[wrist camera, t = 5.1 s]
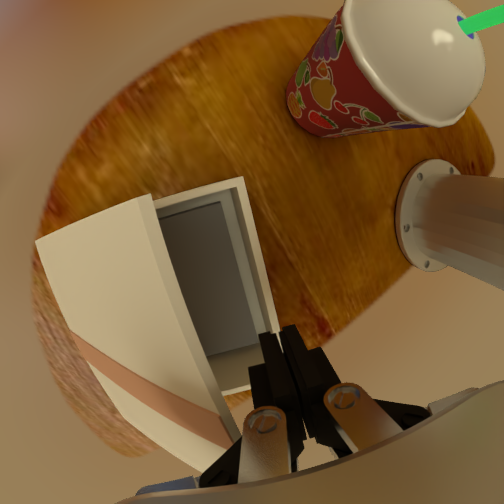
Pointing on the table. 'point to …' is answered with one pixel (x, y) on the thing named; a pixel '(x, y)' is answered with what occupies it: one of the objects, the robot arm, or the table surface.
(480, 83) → the smoothie
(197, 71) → the table surface
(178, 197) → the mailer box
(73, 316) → the lid
